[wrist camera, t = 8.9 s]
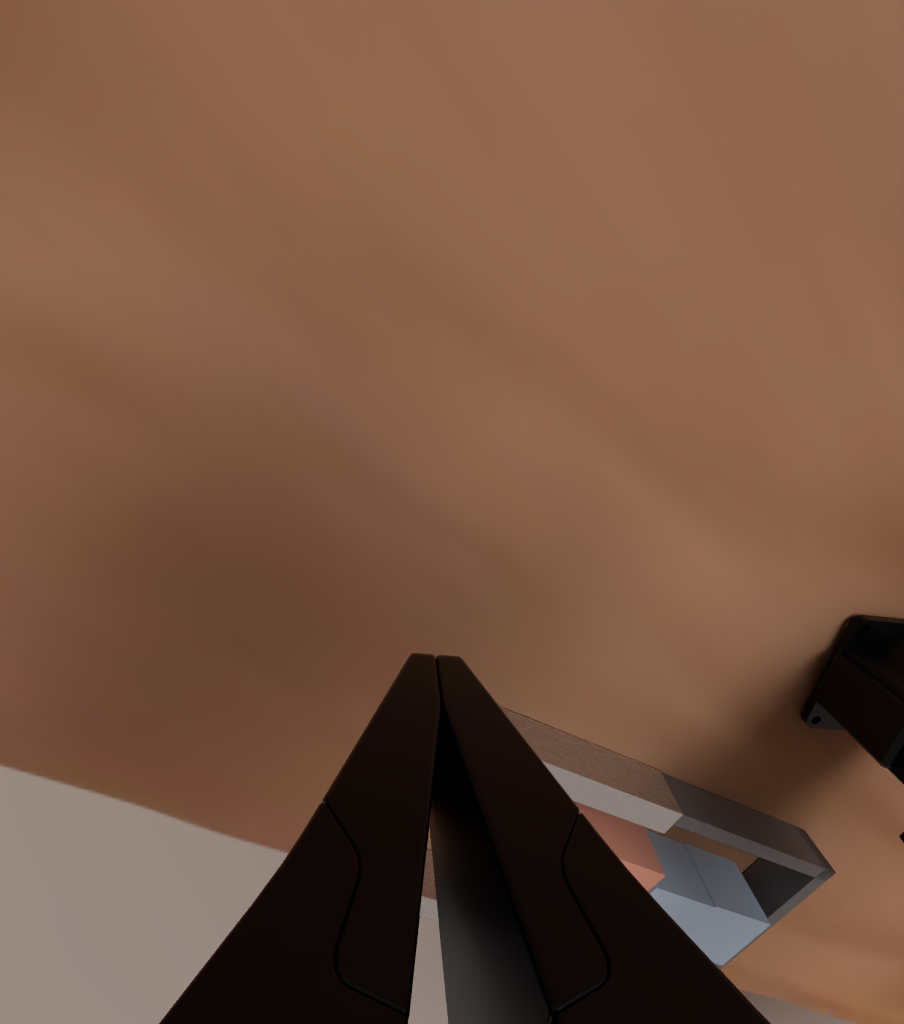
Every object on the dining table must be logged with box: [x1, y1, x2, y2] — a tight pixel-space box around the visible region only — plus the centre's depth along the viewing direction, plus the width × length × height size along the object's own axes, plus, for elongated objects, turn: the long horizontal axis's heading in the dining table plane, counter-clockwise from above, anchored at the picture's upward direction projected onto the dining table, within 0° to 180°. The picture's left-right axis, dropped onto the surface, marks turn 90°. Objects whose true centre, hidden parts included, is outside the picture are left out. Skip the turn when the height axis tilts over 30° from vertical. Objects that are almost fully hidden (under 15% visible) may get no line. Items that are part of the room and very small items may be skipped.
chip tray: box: [662, 773, 836, 969], centre depth 29 cm, size 11×12×2 cm
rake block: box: [573, 801, 666, 891], centre depth 27 cm, size 7×5×4 cm
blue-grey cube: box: [684, 843, 771, 966], centre depth 29 cm, size 4×4×4 cm
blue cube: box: [646, 830, 715, 933], centre depth 28 cm, size 4×4×4 cm
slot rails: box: [420, 706, 683, 921], centre depth 26 cm, size 12×12×2 cm
